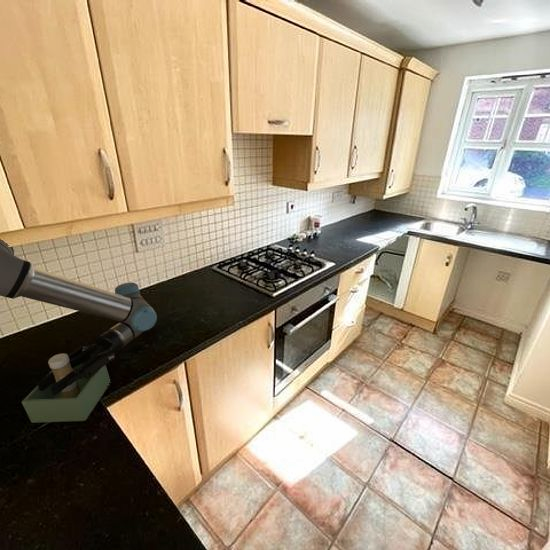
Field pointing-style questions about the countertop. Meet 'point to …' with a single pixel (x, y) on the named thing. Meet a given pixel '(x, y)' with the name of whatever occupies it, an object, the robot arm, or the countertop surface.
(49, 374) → the robot arm
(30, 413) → the bin
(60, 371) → the sprinkles bottle
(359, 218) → the countertop surface
